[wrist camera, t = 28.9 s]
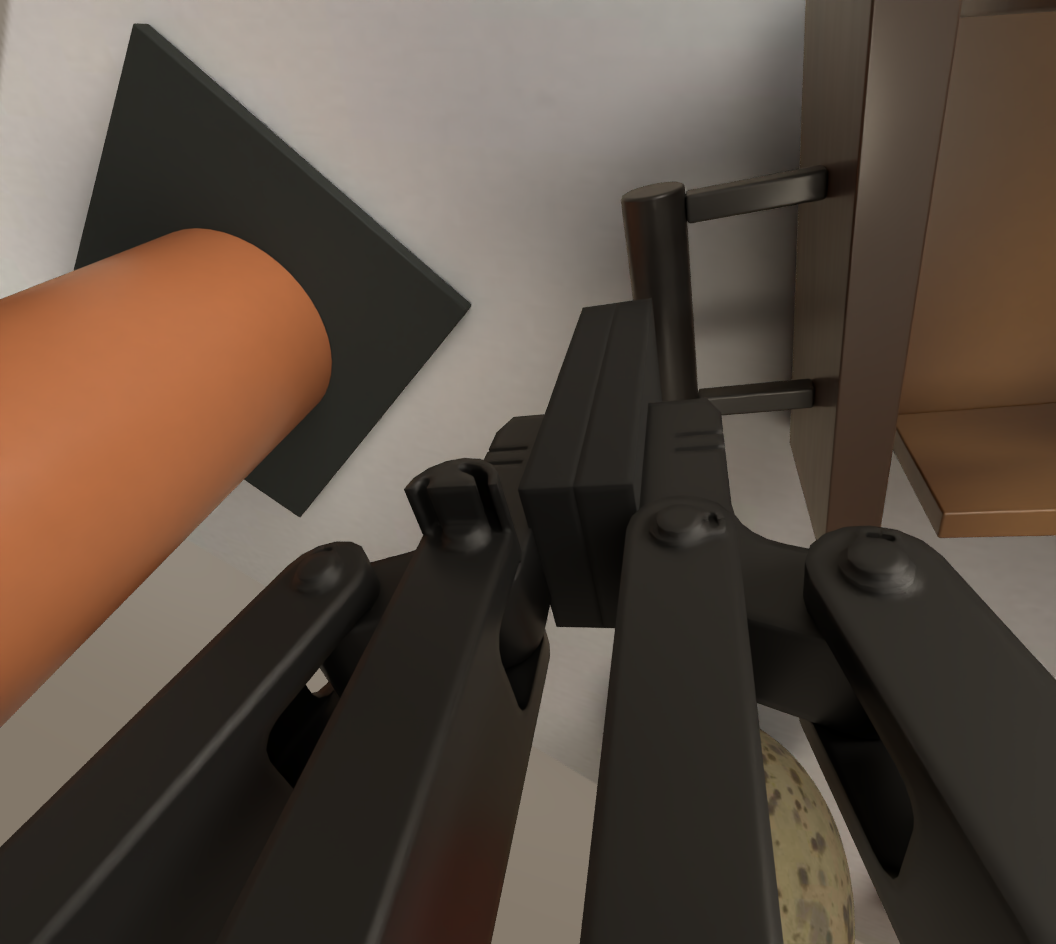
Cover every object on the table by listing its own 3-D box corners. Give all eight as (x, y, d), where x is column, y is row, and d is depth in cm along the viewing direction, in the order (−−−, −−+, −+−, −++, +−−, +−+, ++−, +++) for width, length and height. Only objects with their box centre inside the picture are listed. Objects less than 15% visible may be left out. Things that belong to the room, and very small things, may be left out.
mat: (148, 22, 17) (132, 22, 16) (472, 304, 20) (467, 311, 19) (65, 344, 25) (53, 350, 24) (306, 509, 28) (299, 517, 27)
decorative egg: (838, 774, 32) (932, 1210, 20) (648, 780, 36) (634, 1139, 24) (792, 651, 27) (883, 1137, 15) (579, 675, 31) (519, 1064, 19)
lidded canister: (112, 193, 19) (-750, 432, 8) (337, 258, 19) (-200, 610, 7) (157, 393, 24) (-324, 723, 13) (337, 447, 24) (15, 836, 12)
